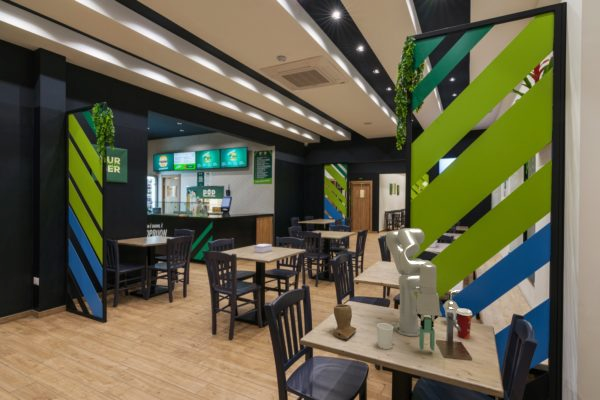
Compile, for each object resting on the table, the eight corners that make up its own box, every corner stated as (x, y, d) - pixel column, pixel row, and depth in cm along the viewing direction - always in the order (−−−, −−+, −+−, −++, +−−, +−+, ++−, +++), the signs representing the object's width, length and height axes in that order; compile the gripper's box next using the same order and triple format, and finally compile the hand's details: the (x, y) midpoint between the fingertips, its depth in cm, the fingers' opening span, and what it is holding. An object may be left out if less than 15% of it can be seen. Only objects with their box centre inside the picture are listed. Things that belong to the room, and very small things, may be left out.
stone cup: (339, 326, 183) (339, 300, 183) (358, 331, 177) (359, 304, 176) (326, 336, 170) (327, 307, 170) (347, 342, 164) (347, 312, 164)
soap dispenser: (443, 320, 194) (443, 287, 193) (459, 323, 190) (460, 289, 189) (442, 325, 186) (442, 290, 186) (459, 328, 182) (460, 293, 182)
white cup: (383, 351, 155) (383, 330, 154) (373, 344, 162) (373, 324, 162) (396, 348, 158) (397, 328, 158) (386, 341, 165) (386, 322, 165)
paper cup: (473, 340, 167) (474, 313, 167) (457, 338, 169) (458, 312, 169) (469, 334, 175) (469, 308, 175) (453, 332, 176) (454, 307, 176)
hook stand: (444, 358, 148) (445, 324, 148) (435, 342, 165) (436, 310, 165) (472, 361, 146) (473, 326, 146) (461, 344, 163) (462, 312, 162)
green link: (420, 349, 152) (421, 319, 152) (419, 345, 156) (419, 316, 156) (434, 350, 151) (434, 320, 151) (432, 346, 155) (432, 317, 155)
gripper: (410, 290, 152) (410, 330, 152) (448, 293, 149) (447, 333, 149) (408, 286, 159) (407, 323, 159) (443, 288, 156) (443, 326, 156)
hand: (426, 327), depth 154 cm, fingers closed on green link, 3 cm apart
